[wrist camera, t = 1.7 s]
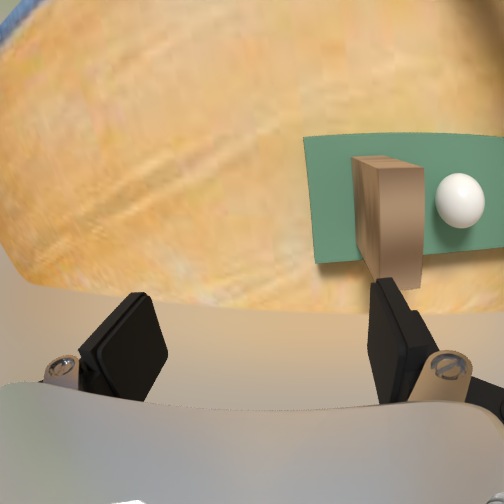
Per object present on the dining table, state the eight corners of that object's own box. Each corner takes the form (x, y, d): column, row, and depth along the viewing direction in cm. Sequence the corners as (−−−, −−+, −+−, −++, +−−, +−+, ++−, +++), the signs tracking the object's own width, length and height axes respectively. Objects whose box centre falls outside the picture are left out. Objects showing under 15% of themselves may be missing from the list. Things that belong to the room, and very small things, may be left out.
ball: (426, 169, 26) (449, 177, 21) (469, 169, 25) (495, 177, 20) (426, 221, 27) (447, 237, 23) (468, 218, 26) (492, 234, 22)
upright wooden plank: (350, 156, 26) (378, 168, 17) (388, 154, 25) (431, 167, 16) (355, 242, 29) (379, 292, 20) (390, 239, 28) (426, 287, 19)
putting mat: (303, 137, 29) (303, 137, 26) (554, 144, 23) (569, 146, 20) (313, 252, 33) (315, 263, 30) (550, 233, 27) (562, 240, 24)
